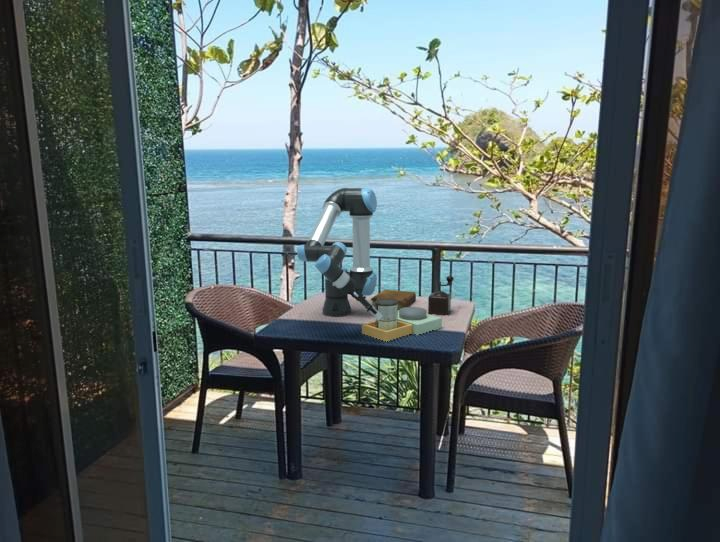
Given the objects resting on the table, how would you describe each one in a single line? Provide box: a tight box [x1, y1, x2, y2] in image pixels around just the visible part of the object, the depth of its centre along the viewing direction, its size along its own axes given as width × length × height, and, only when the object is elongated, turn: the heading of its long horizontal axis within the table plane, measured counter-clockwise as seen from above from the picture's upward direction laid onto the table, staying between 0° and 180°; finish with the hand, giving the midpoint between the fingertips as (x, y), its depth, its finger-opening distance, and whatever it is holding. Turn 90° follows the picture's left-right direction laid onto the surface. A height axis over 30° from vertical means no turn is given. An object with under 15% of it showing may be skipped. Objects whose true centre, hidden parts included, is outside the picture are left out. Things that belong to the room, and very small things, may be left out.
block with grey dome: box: [398, 306, 443, 336], centre depth 274 cm, size 22×17×8 cm
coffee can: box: [375, 298, 399, 331], centre depth 262 cm, size 10×10×14 cm
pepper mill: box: [427, 275, 455, 316], centre depth 300 cm, size 16×11×18 cm
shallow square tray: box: [361, 320, 413, 343], centre depth 264 cm, size 16×16×4 cm
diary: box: [370, 289, 417, 310], centre depth 316 cm, size 23×19×6 cm
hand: (377, 313), depth 261 cm, fingers open, 13 cm apart
